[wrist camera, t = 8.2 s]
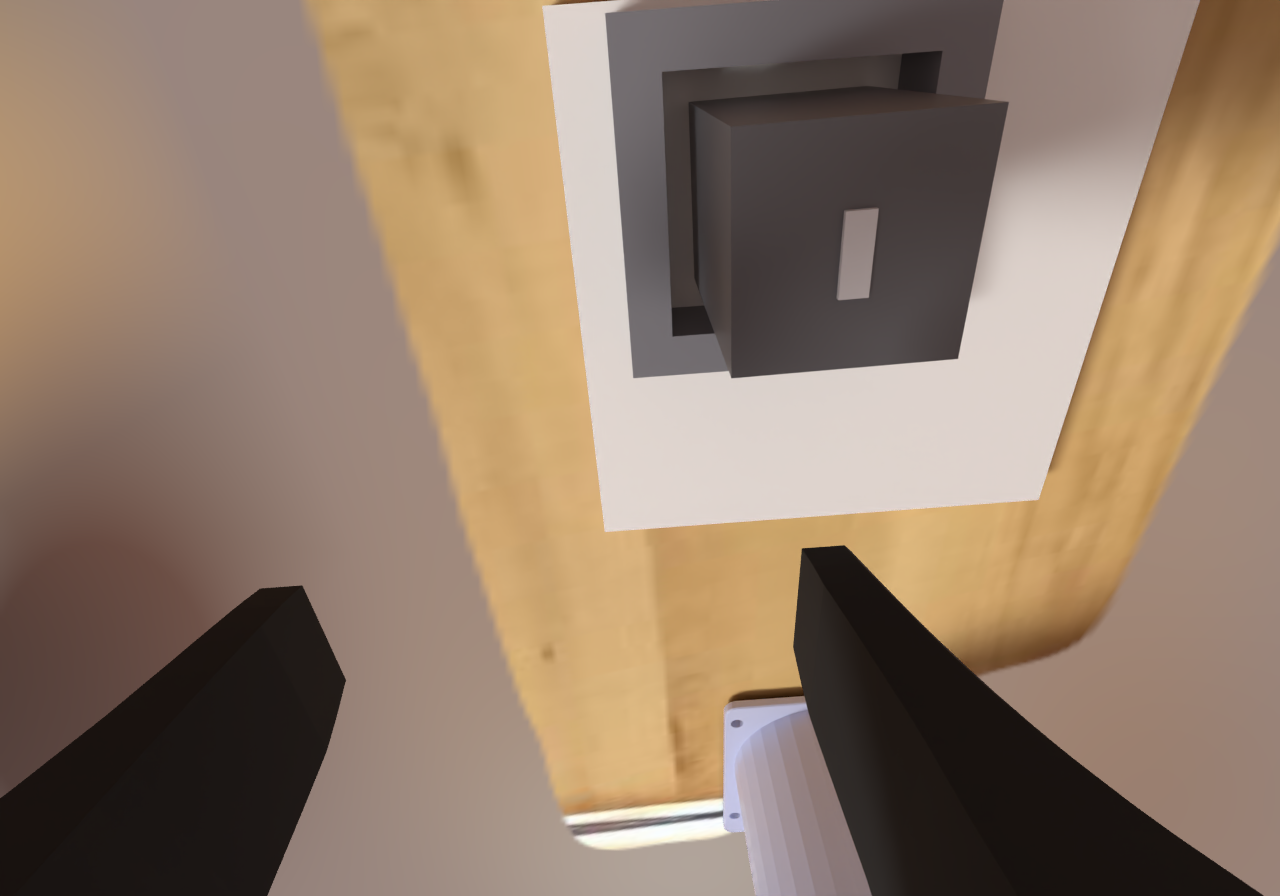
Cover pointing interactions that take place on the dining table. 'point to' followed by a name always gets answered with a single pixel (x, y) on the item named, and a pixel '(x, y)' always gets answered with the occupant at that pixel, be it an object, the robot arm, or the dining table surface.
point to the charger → (839, 224)
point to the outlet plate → (866, 396)
